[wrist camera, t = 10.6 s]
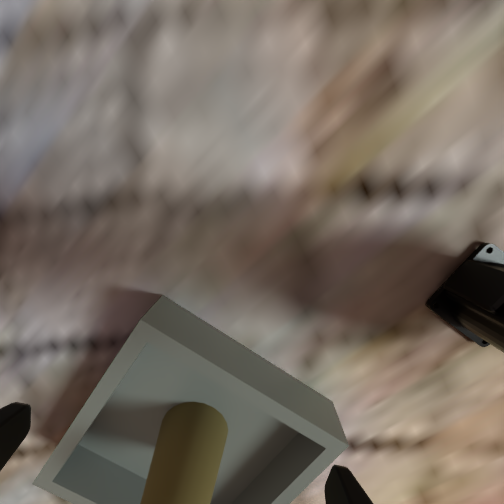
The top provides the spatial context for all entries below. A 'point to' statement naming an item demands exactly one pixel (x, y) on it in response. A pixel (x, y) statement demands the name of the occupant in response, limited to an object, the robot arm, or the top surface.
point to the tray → (203, 391)
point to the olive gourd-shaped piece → (186, 456)
